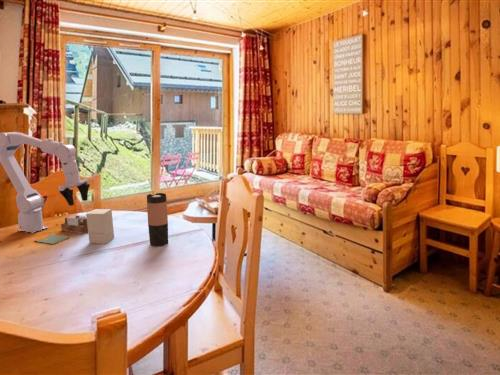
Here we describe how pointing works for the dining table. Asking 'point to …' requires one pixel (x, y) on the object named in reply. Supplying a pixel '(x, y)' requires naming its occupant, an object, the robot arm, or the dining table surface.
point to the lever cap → (75, 220)
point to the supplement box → (100, 226)
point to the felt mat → (53, 239)
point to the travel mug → (157, 219)
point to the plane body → (75, 227)
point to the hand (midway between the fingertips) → (78, 202)
